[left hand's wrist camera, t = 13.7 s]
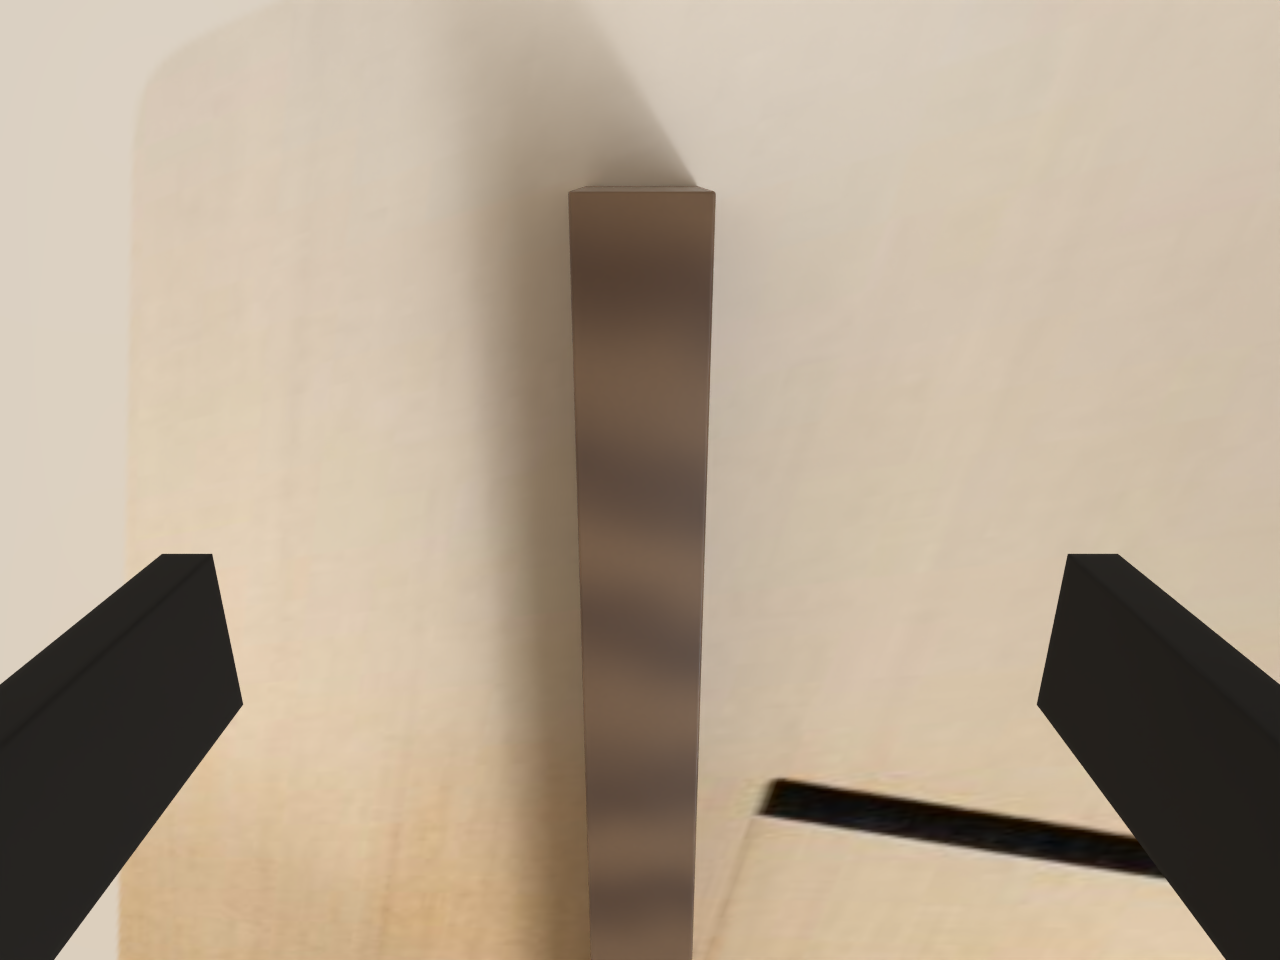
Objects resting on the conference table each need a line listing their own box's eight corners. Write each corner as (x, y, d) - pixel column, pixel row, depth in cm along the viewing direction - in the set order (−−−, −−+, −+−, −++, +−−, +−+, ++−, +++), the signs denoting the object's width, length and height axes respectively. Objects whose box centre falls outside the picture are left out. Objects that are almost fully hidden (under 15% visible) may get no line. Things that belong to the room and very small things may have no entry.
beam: (583, 186, 31) (568, 191, 24) (699, 186, 31) (715, 191, 24) (608, 1265, 56) (604, 1420, 49) (673, 1265, 56) (678, 1420, 49)
